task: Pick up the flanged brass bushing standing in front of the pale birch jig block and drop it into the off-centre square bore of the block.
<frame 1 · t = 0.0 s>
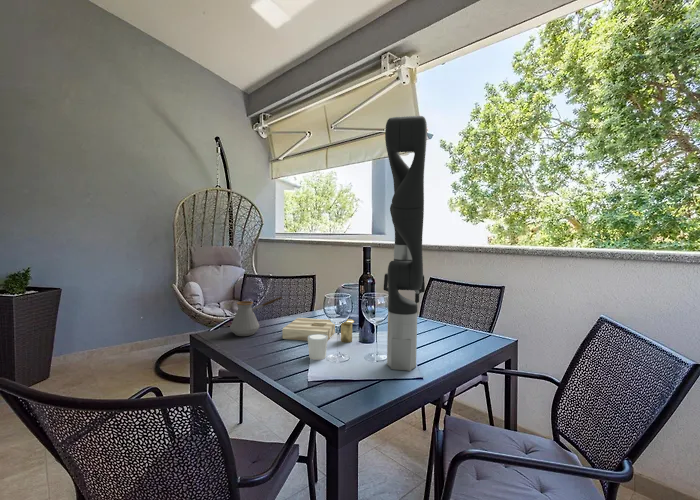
hand: (403, 303, 123), 17 cm above the table, tool pointing down, fingers open, 8 cm apart
shot glass: (317, 357, 118), on the table
jig: (311, 333, 144), on the table
coffee pot: (257, 333, 144), on the table
bushing: (346, 341, 135), on the table
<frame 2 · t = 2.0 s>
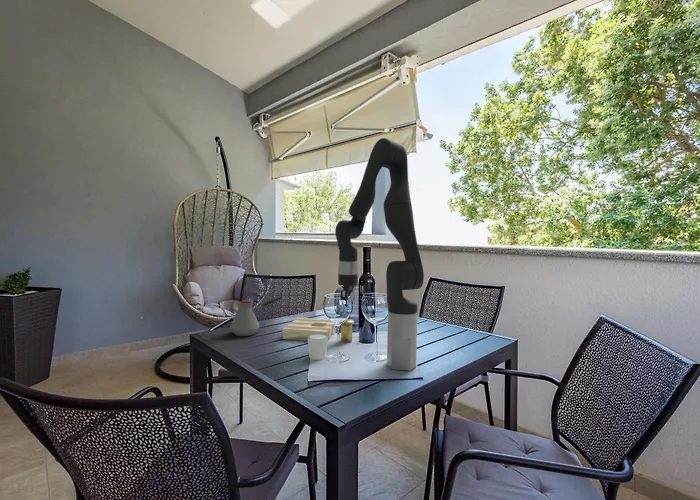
hand: (347, 314, 135), 10 cm above the table, tool pointing down, fingers open, 8 cm apart
nothing on the table moved.
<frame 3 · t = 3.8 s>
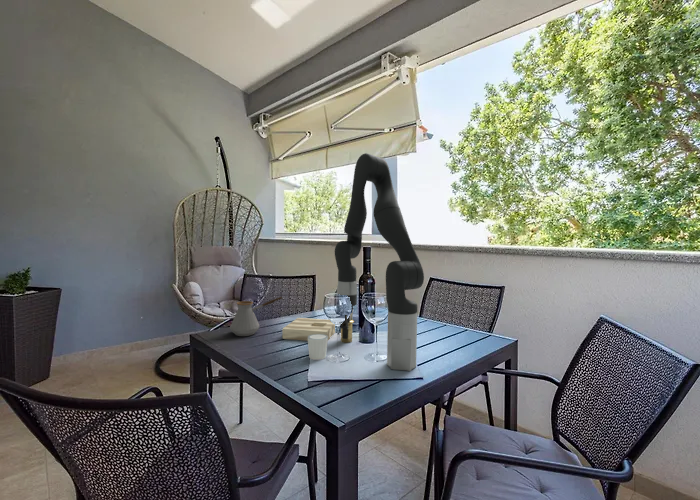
hand: (346, 336, 135), 2 cm above the table, tool pointing down, fingers closed on bushing, 4 cm apart
bushing: (346, 341, 135), on the table, touching gripper
everything else where it was.
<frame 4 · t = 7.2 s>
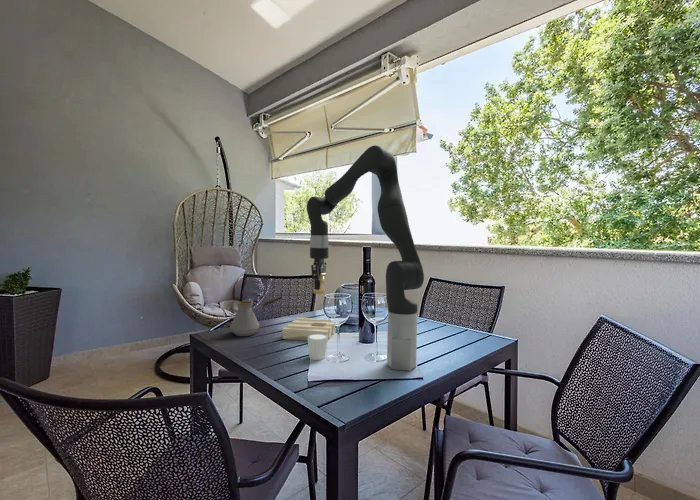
hand: (318, 288, 142), 19 cm above the table, tool pointing down, fingers closed on bushing, 4 cm apart
bushing: (318, 292, 143), point 17 cm above the table, touching gripper
everything else where it was.
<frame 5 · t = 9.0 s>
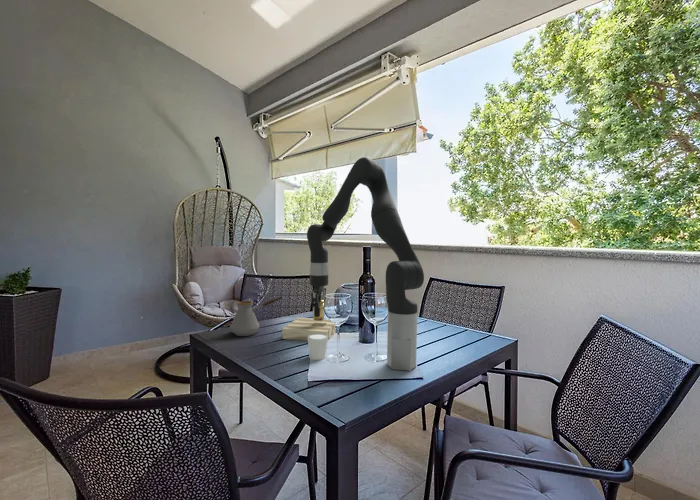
hand: (318, 314, 143), 8 cm above the table, tool pointing down, fingers closed on bushing, 4 cm apart
bushing: (318, 319, 143), point 6 cm above the table, touching gripper
everything else where it was.
when the fingers open (5 cm above the table, at t = 10.5 s): bushing drops 3 cm, resting in jig.
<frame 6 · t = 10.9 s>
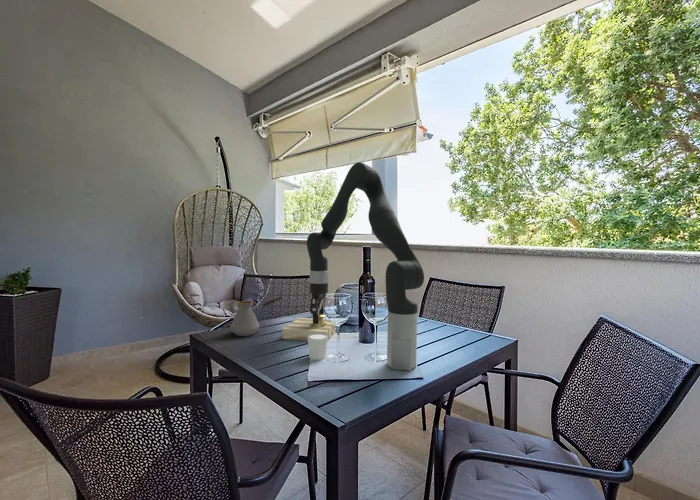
hand: (318, 321, 143), 5 cm above the table, tool pointing down, fingers open, 7 cm apart
bushing: (318, 334, 143), resting in jig
everything else where it was.
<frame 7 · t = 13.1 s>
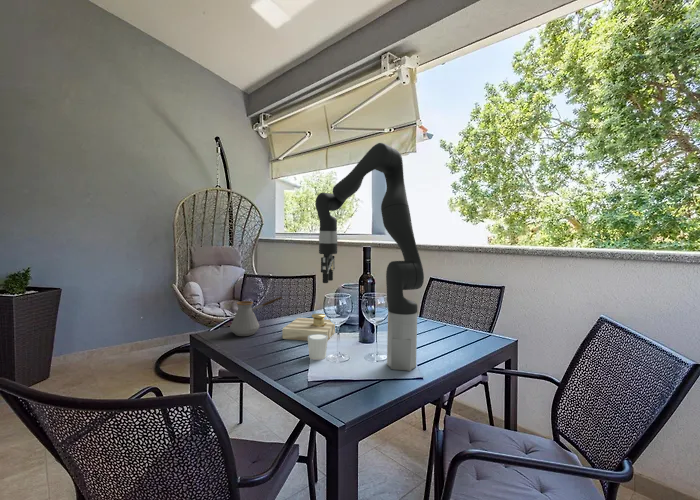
hand: (327, 281, 144), 22 cm above the table, tool pointing down, fingers open, 8 cm apart
nothing on the table moved.
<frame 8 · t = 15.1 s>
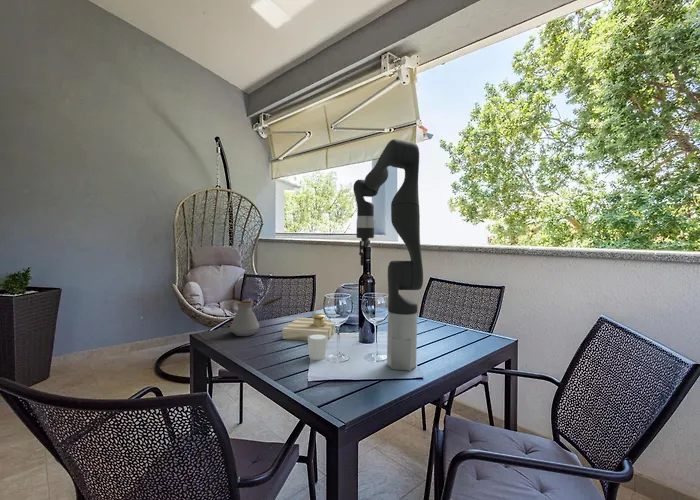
hand: (364, 264, 150), 28 cm above the table, tool pointing down, fingers open, 8 cm apart
nothing on the table moved.
at the end: bushing 0.1 cm from the target spot on the jig, point 0.0 cm above the jig's base; bushing tilted 0°; the gripper is holding nothing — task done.
